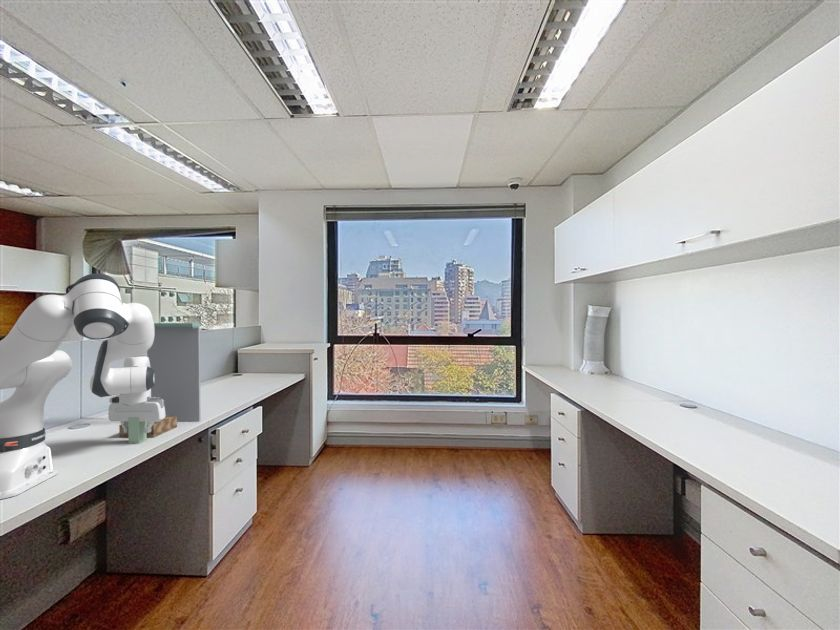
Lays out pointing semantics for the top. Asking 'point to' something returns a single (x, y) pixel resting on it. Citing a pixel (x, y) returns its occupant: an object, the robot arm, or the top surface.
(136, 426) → the peg
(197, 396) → the tall box with lid
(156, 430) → the socket block
